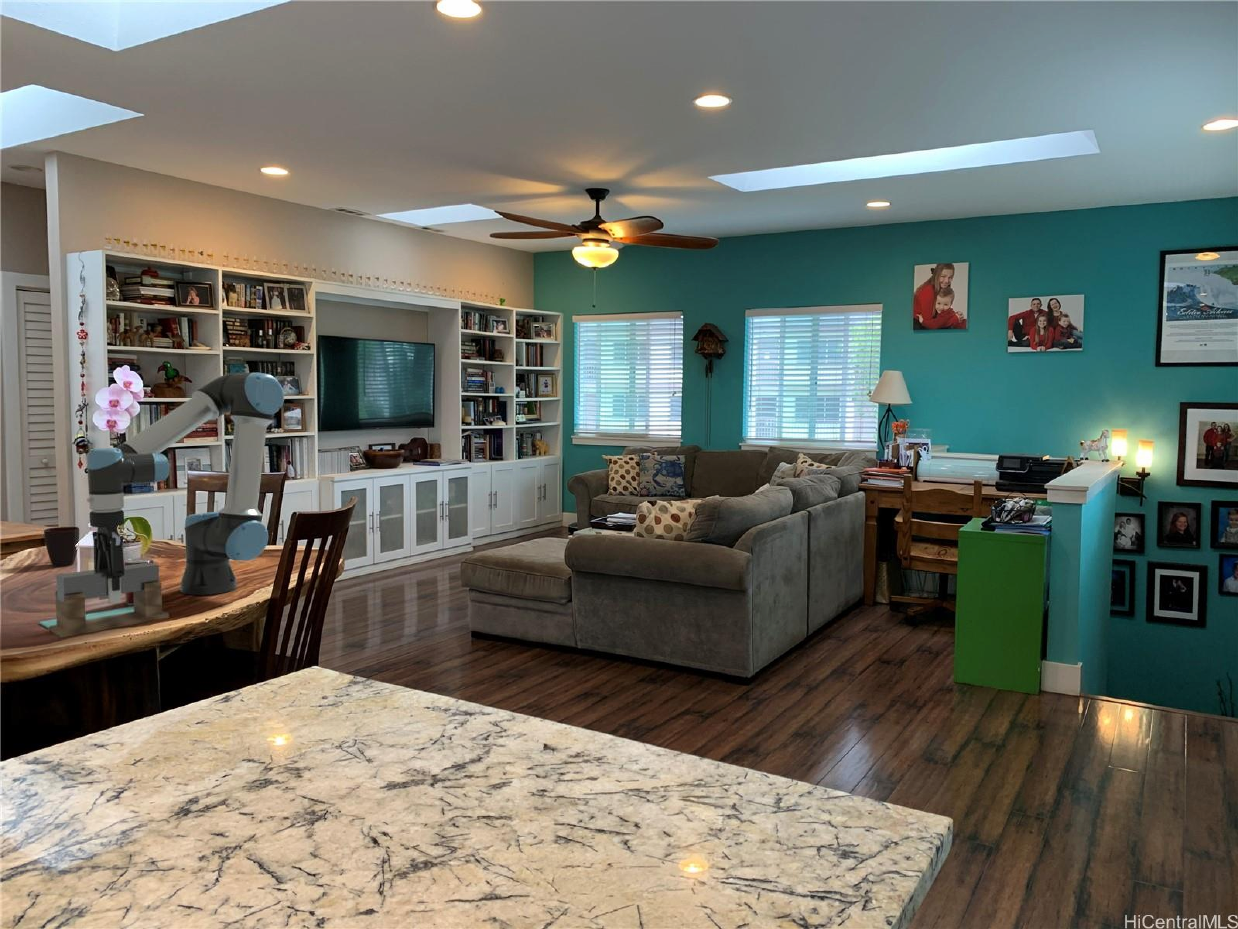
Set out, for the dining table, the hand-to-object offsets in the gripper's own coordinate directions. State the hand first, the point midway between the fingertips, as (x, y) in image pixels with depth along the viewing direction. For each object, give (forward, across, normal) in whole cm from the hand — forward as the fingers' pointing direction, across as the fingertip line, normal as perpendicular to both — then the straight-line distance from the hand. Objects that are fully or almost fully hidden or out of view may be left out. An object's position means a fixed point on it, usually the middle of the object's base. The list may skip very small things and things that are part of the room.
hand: (110, 600), depth 227 cm
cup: (+6, -91, +18) cm, 93 cm away
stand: (+6, 0, 0) cm, 6 cm away
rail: (-2, 0, 0) cm, 2 cm away
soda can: (+6, -18, +14) cm, 24 cm away
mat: (+6, -10, 0) cm, 12 cm away
